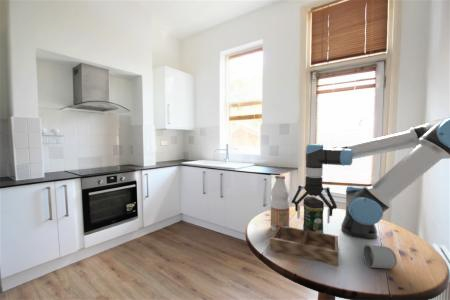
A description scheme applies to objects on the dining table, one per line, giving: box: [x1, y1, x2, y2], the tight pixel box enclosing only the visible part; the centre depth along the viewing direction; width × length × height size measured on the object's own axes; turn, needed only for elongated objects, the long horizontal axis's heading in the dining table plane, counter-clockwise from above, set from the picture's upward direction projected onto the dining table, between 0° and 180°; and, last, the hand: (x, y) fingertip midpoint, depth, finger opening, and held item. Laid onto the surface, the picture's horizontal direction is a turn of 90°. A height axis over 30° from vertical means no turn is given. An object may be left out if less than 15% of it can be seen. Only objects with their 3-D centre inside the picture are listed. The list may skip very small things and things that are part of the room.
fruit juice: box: [270, 174, 290, 232], centre depth 112 cm, size 9×9×28 cm
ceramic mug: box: [362, 243, 398, 270], centre depth 81 cm, size 11×8×8 cm
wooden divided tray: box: [269, 225, 339, 267], centre depth 92 cm, size 26×15×5 cm, turn 63°
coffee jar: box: [302, 196, 325, 233], centre depth 104 cm, size 10×8×19 cm
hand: (313, 220), depth 105 cm, fingers open, 13 cm apart
